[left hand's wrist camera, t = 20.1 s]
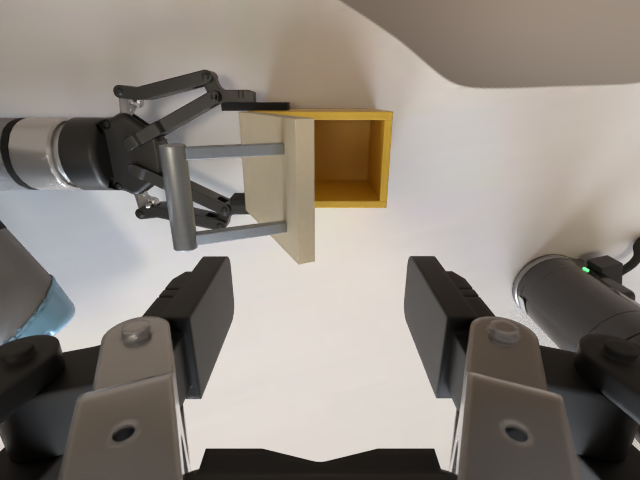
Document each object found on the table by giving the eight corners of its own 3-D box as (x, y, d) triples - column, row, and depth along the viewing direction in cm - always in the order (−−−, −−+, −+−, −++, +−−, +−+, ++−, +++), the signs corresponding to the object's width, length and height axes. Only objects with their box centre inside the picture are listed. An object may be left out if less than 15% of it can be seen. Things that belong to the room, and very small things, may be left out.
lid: (314, 117, 21) (156, 120, 18) (315, 261, 24) (180, 286, 21) (252, 111, 33) (149, 112, 30) (257, 208, 36) (165, 219, 33)
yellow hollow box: (376, 109, 44) (392, 111, 34) (372, 184, 47) (386, 208, 37) (263, 108, 44) (246, 111, 34) (267, 184, 47) (252, 207, 37)
